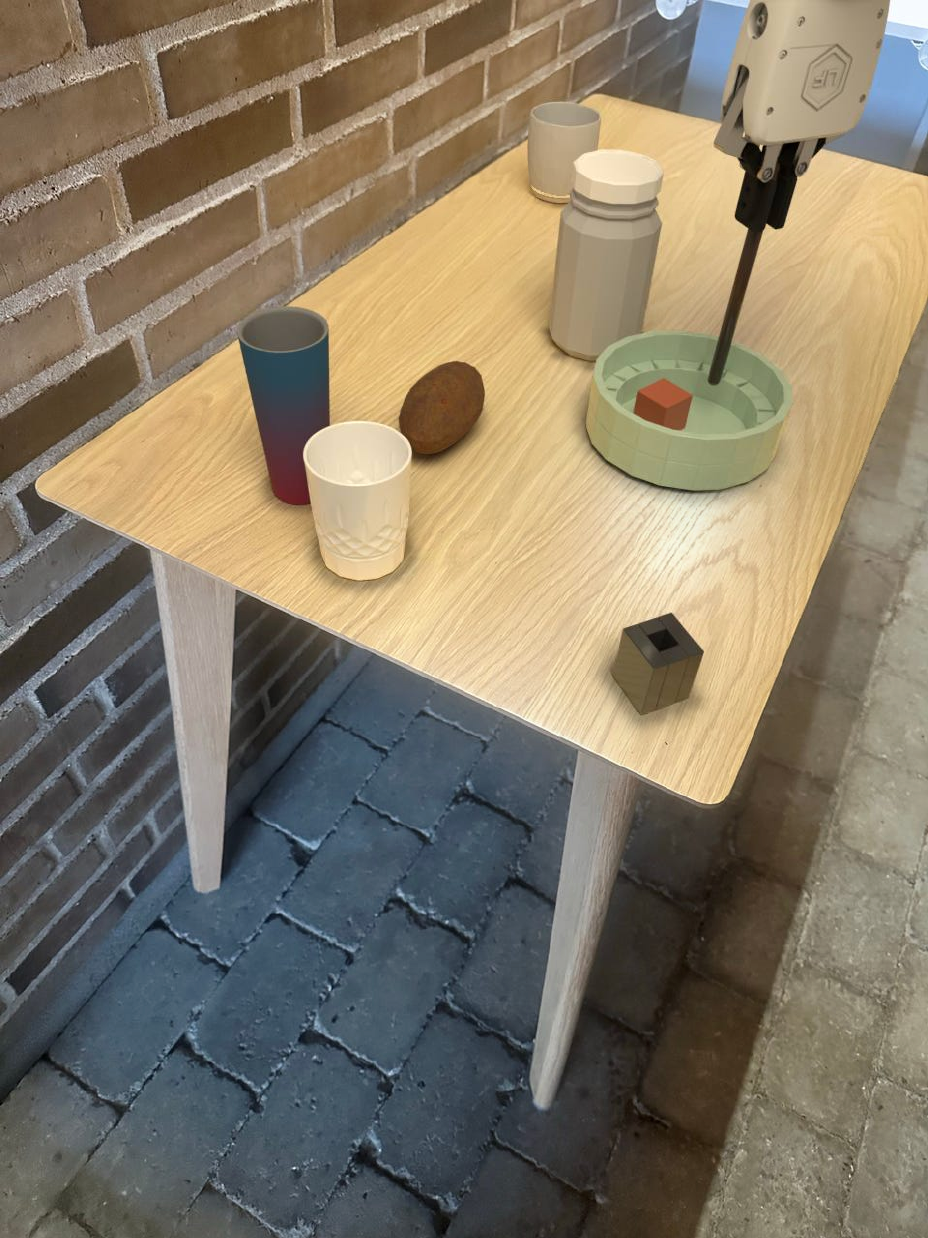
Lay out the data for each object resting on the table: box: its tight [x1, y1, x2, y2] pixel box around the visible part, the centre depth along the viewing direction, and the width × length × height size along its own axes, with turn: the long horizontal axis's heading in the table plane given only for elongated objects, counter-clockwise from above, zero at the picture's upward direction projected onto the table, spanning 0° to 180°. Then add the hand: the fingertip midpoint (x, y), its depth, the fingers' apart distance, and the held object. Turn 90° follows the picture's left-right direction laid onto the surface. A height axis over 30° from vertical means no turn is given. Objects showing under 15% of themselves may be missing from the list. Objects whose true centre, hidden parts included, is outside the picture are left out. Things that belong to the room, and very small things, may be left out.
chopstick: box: [708, 160, 781, 386], centre depth 79 cm, size 1×1×20 cm
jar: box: [548, 148, 665, 362], centre depth 93 cm, size 10×10×18 cm
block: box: [633, 378, 693, 431], centre depth 87 cm, size 4×4×4 cm
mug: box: [526, 101, 602, 204], centre depth 123 cm, size 13×9×10 cm
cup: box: [236, 305, 331, 506], centre depth 76 cm, size 7×7×15 cm
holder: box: [612, 612, 705, 716], centre depth 65 cm, size 4×4×5 cm
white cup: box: [303, 420, 413, 582], centre depth 72 cm, size 8×8×10 cm
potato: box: [398, 360, 486, 455], centre depth 84 cm, size 7×12×7 cm, turn 159°
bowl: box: [585, 329, 794, 491], centre depth 86 cm, size 18×18×6 cm
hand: (758, 222), depth 75 cm, fingers closed on chopstick, 1 cm apart
